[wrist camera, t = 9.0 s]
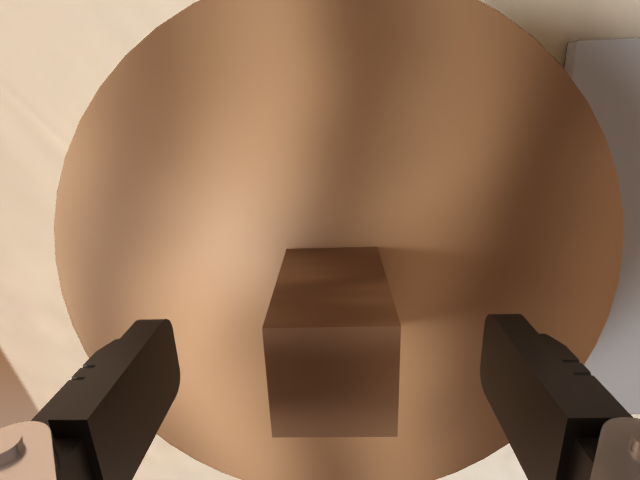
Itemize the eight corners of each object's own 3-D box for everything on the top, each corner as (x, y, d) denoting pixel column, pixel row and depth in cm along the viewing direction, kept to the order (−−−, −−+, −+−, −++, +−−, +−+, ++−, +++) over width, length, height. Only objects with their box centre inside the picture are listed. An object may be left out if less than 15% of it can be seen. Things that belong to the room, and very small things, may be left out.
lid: (662, -41, 12) (978, -172, 6) (559, 474, 18) (665, 651, 12) (7, -8, 12) (-270, -97, 7) (126, 475, 19) (35, 642, 13)
